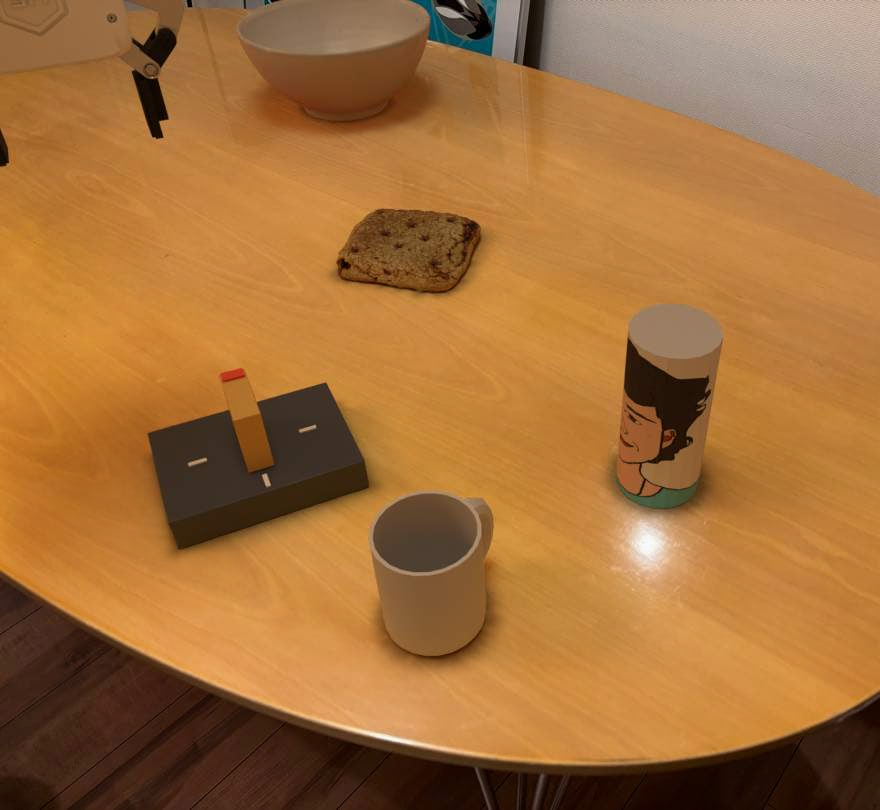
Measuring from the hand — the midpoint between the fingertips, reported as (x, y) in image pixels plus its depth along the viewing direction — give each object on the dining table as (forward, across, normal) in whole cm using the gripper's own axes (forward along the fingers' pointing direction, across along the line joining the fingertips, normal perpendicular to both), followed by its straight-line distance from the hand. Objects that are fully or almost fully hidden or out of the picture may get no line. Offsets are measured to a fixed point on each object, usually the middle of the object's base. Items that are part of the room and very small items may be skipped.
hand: (81, 144), depth 60 cm
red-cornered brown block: (+23, +5, -8) cm, 25 cm away
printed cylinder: (+26, +34, -23) cm, 49 cm away
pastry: (+26, +28, +19) cm, 43 cm away
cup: (+26, +14, -27) cm, 40 cm away
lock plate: (+26, +5, -8) cm, 28 cm away
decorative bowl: (+26, +34, +64) cm, 77 cm away
